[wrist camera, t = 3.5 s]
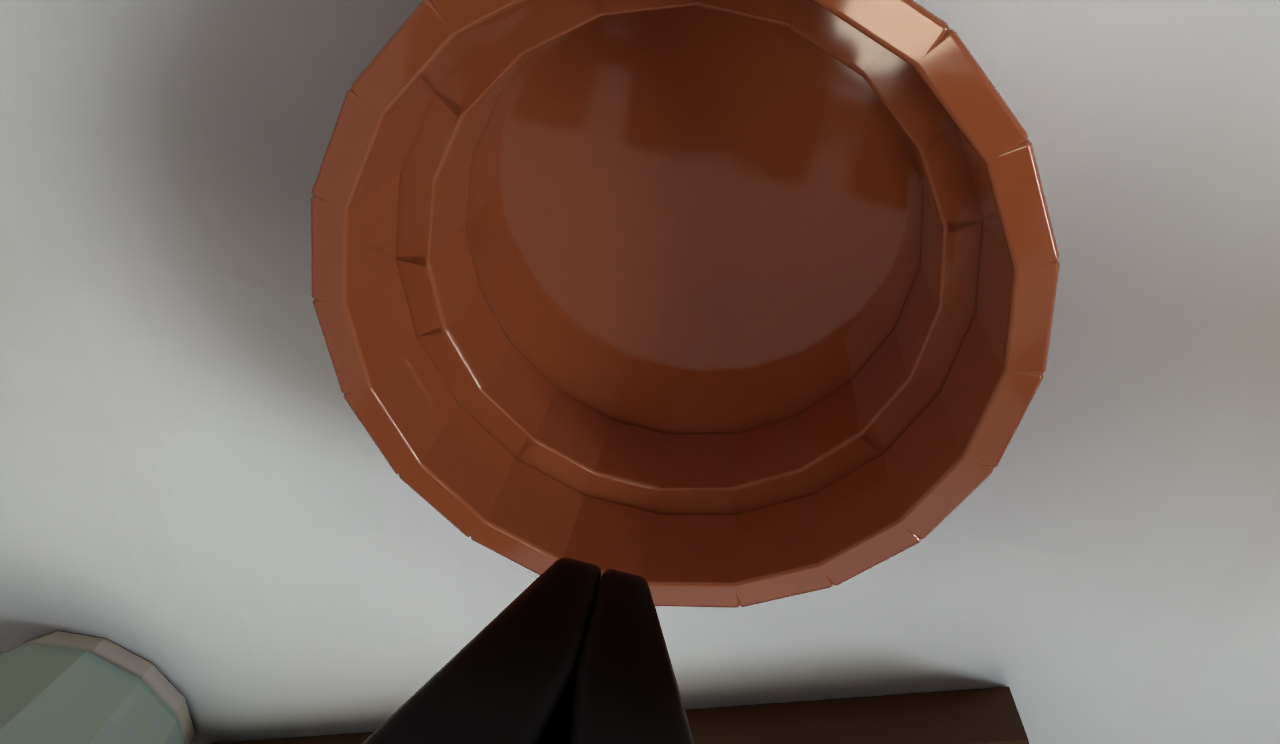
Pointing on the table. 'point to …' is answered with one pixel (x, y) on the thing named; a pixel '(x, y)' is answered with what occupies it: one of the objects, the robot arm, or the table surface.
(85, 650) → the disposable coffee cup
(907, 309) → the flower pot
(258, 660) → the table surface
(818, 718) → the pan flute
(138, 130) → the table surface
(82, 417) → the table surface
